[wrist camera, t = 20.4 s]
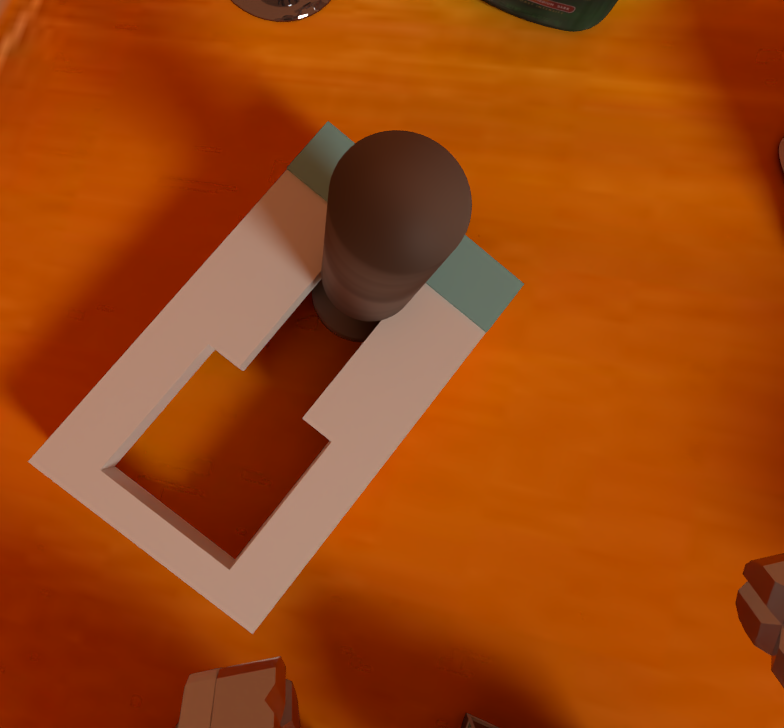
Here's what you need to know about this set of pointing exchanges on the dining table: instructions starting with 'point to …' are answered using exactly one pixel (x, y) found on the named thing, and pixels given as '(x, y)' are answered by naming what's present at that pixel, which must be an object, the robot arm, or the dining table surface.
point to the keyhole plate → (240, 346)
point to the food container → (475, 722)
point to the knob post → (387, 228)
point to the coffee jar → (558, 12)
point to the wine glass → (281, 8)
